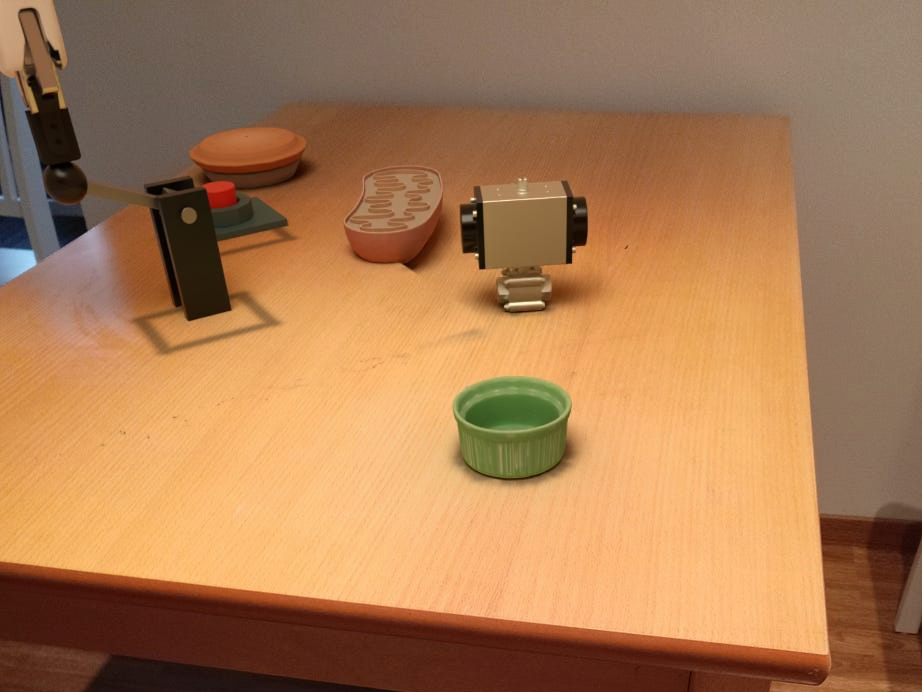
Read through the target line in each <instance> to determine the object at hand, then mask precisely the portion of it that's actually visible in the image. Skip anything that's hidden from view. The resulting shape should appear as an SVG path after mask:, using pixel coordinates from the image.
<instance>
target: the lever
mask: <svg viewBox="0 0 922 692" xmlns="http://www.w3.org/2000/svg"><path fill="white" fill-rule="evenodd" d="M42 182H43V187H44V189H45V191H46V193H47V195H48V196H49V197H50V198H51V199H52V200H53V201H55V202H56V203H58V204H60V205H64V206H74V205H77V204H79V203H80V202H82V201H83V200H84V199H85V198H86V195H88V196H94V197H97V198H101V199H102V198H103V199H107V200H112V201H116V202H120V203H121V202H122V203H127V204H131V205H136V206H139V207H140V206H141V207H145V208H148V209H149V208H154V209H159V206H158V202H157V198H156V196H157V195H153V194H148V193H145V191H144V192H143V191H139V190H134V189H129V188H125V187H120V186H116V185H111V184H107V183H103V182H97V181H93V180H88V178H87V176H86V173H85V172H84V171H83V169H82V168H81V167H80V166H79V165H78V164H77V163H75V162H74V161H70V162H65V163H59V164H54V165H46V168H45V170H44V171H43V176H42ZM172 192H177V190H172V189H168V188H163V191H162V195H163V194H167V193H172ZM159 214H160V211H159Z"/></svg>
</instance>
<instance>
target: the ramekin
mask: <svg viewBox="0 0 922 692" xmlns="http://www.w3.org/2000/svg"><path fill="white" fill-rule="evenodd" d="M572 406H573V403H572V398H571V396H570V395H569V393H568V392H567V391H566V390H565V389H564V388H563V387H562V386H560V385H559V384H556V383H554V382H552V381H549V380H546V379H543V378H539V377H534V376H522V375H506V376H496V377H492V378H491V377H490V378H487V379H483V380H480V381H477V382H475V383H473V384H470V385H468V386H467V387H465V388H464V389H462V390H461V391H459V392H458V394H457V395H456V396H455V397H454V400H453V401H452V412H453V417H454V420H455V422H456V425H457V431H458V439H459V445H460V451H461V456H462V458H463V460H464V461H465V463H466V464H467V466H469V467H470V468H472V469H473V470H474V471H477V472H479V473H480V474H483V475H486V476H489V477H494V478H500V479H501V478H502V479H521V478H527V477H533V476H536V475H539V474H542V473H544V472H547V471H548V470H550V469H553V467H555V466H557V464H558V463H559V462H560V461H561V460H562V458H563V457H564V453H565V450H566V442H567V432H568V421H569V418H570V416H571V412H572Z"/></svg>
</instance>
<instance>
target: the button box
mask: <svg viewBox="0 0 922 692" xmlns="http://www.w3.org/2000/svg"><path fill="white" fill-rule="evenodd" d="M236 196H237V201H238V203H237V204H235V205H233V206H229V207H224V208H213V209H211V213H212V218H213V223H214V228H215V233H216V237H217V242H223V241H227V240H231V239H236V238H240V237H245V236H248V235H254V234H259V233H262V232H266V231H271V230H275V229H279V228H285V227H288V226H289V222H288V218H287V217H285V216H284V215H282V214H281V213H280V212H278V211H277V210H276V209H274V208H273V207H272V206H271V205H269V204H267V203H266V202H265V201H264V200H261V199H260V198H259V197H258V196H252V197H250V196H249V195H247V194H246V193H242V192H237V191H236Z"/></svg>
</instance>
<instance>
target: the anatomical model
mask: <svg viewBox="0 0 922 692" xmlns="http://www.w3.org/2000/svg"><path fill="white" fill-rule="evenodd" d="M443 199H444V183H443V180H442V175H441V173H440V172H439V170H437V169H435V168H432V167H429V166H423V165H409V164H406V165H404V164H403V165H393V166H385V167H382V168H377V169H374V170H372V171H369V172H367V173H366V174H365V175H363V177H362V190H361V193H360V196H359V199H358V200H357V202H356V204H355V205H354V207H353V208H352V209H351V210H350V211H349V213H348V214H347V215H346V216H345V217H344V218H343V220H342V224H343V228H344V232H345V235H346V238H347V241H348V242H349V244H350V247H351V248H352V249H353V251H354V252H355V253H356V254H357V255H358V256H359V257H360V258H362V259H363V260H365V261H367V262H371V263H379V264H391V263H400V264H401V265H405V264H407V263H409V262H410V261H412V260H413V259H415V257H417V256H418V255H419V253H420V252H421V251H422V249H423V248H424V246H425V245H426V243H427V242H428V240H429V239H430V237H431V236H432V234H433V233H434V231H435V229H436V227H437V225H438V222H439V219H440V215H441V212H442V210H443Z"/></svg>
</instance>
